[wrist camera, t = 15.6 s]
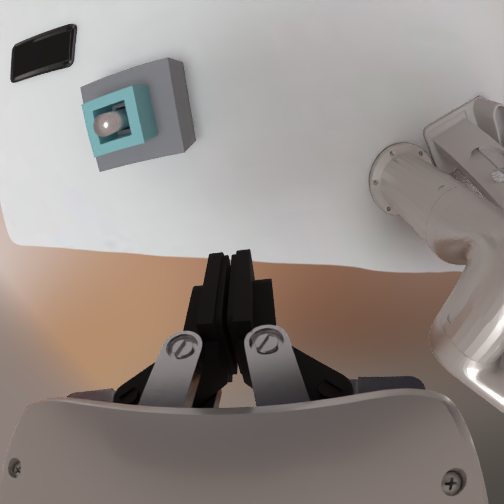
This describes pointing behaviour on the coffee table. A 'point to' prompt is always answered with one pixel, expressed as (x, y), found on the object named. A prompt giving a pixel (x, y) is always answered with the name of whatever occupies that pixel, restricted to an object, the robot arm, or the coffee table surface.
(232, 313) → the robot arm
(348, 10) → the coffee table surface
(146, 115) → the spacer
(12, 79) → the phone
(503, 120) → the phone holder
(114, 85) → the bearing block
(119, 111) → the shaft
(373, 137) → the coffee table surface
